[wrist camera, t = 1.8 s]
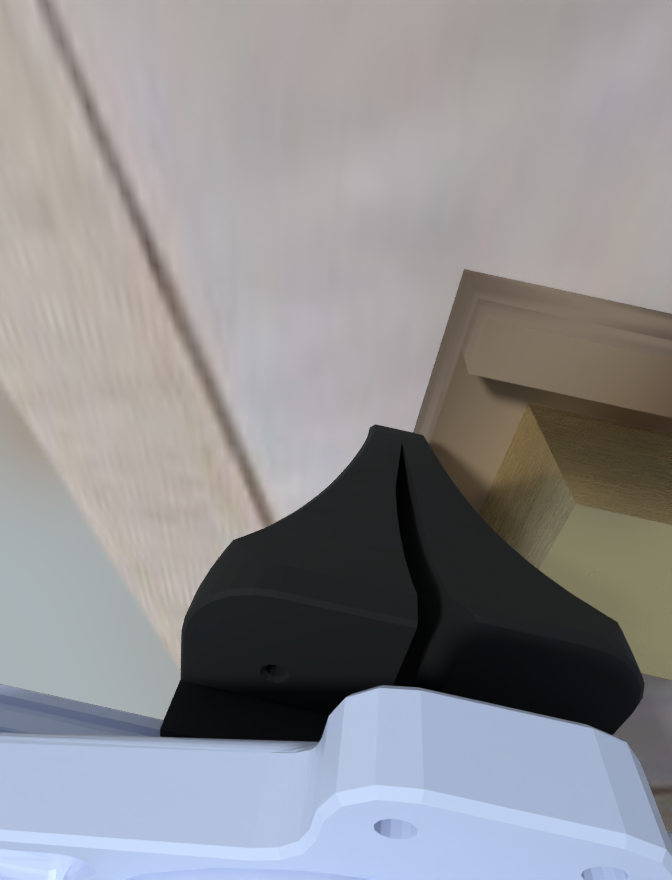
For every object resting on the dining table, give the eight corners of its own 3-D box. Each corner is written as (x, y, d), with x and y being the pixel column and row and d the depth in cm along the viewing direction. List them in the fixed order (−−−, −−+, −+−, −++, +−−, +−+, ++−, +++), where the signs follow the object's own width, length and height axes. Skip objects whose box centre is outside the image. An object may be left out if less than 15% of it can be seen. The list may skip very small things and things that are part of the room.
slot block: (855, 353, 14) (1034, 437, 10) (686, 566, 18) (762, 681, 14) (464, 269, 14) (488, 319, 10) (391, 501, 18) (388, 598, 14)
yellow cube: (686, 437, 12) (795, 552, 9) (609, 552, 14) (674, 680, 11) (528, 403, 12) (575, 504, 9) (475, 522, 14) (497, 641, 11)
